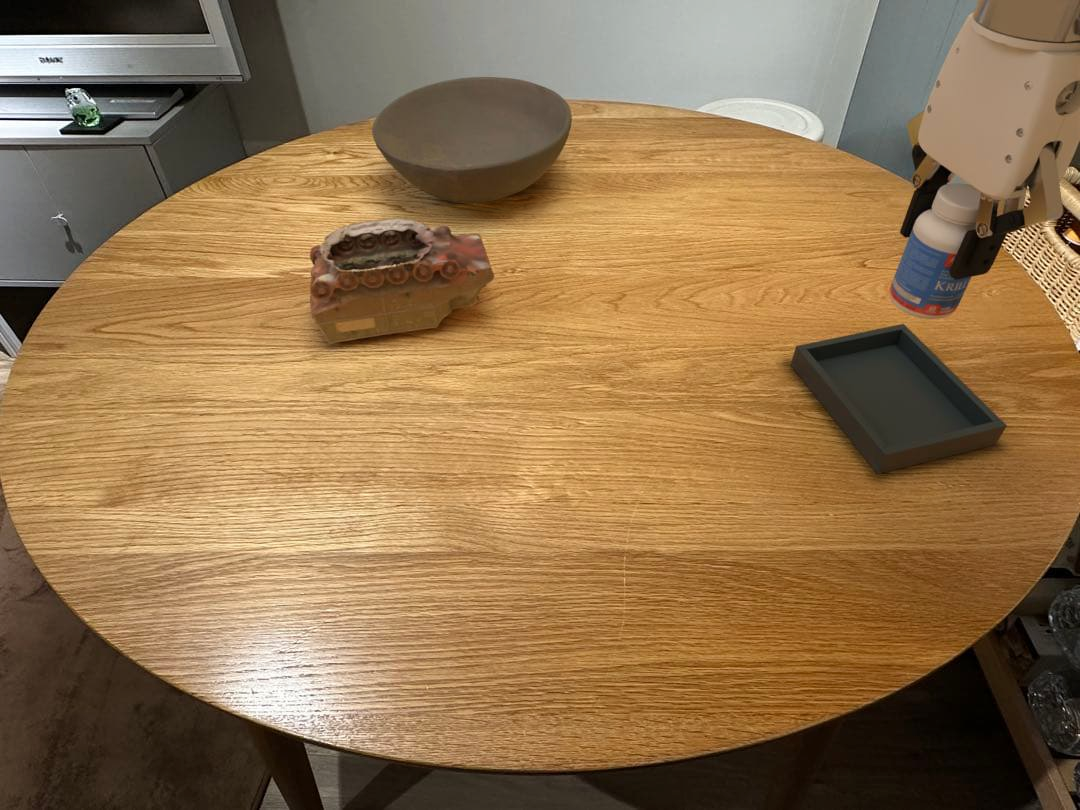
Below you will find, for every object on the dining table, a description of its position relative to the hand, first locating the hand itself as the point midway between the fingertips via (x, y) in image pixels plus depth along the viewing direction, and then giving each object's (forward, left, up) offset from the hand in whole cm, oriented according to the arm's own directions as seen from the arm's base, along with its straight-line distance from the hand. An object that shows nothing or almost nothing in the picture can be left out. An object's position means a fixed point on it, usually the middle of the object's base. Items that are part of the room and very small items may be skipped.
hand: (942, 251), depth 61 cm
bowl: (+57, +26, -19) cm, 65 cm away
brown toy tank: (+31, +40, -19) cm, 54 cm away
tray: (+2, -3, -19) cm, 19 cm away
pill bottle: (0, 0, -5) cm, 5 cm away
